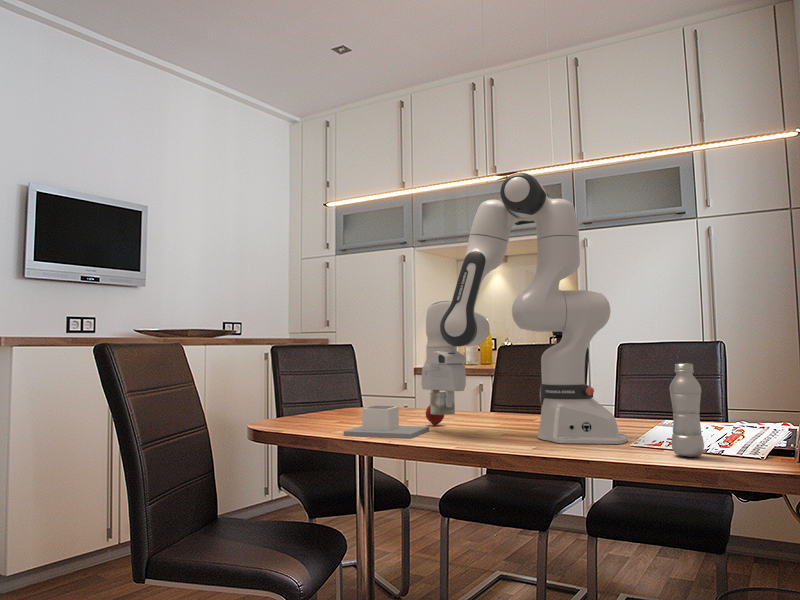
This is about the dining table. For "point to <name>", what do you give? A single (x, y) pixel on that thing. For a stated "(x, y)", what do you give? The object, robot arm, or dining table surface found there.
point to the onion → (433, 417)
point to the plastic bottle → (686, 412)
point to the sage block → (440, 404)
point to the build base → (389, 434)
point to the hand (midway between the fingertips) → (442, 406)
